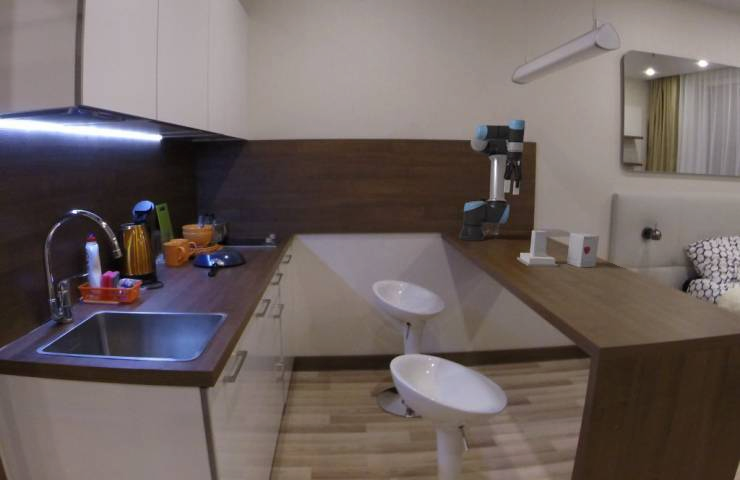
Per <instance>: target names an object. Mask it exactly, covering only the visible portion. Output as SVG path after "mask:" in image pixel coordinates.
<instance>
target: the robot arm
mask: <svg viewBox="0 0 740 480" xmlns="http://www.w3.org/2000/svg"><path fill="white" fill-rule="evenodd" d="M525 129H526V121H525V120H524V119H510V121H509V123H508V125H507V124H506V125H493V124H482V125H480V124H479V125H477V126H476V130H475V135H474V136H473V137H472V138H471V140H470V148H471V149H472V150H473V152H475V153H478V154H480V155H488V159H489V160H490V180H489V181H490V182H489V183H490V185H489V199H488V200H486V203H485V201H483V200H476V201H469V202H466V203H464V207H463V220H462V221H463V222H462V223H463V224H462V228H461V230H460V232H459V235H458V236H459V239H460V240H463V241H470V242H481V241H485V233H484V230H483V229H484V228H483V224H484V223H485V224H487V223H488V224H505V223H506V222H507V220H508V219H509V215H510V209H511V207H510V204H508V203H507V202H508V201H507V200H506V199H505V193H510V191H511V180H512V175H513V178H514V179H513V190H512V195H519V194H520V186H521V181H522V180H523V174H522V161H521V160H523V151H524V140H525V131H526V130H525ZM506 160H507V161H506Z"/></svg>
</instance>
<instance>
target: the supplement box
mask: <svg viewBox="0 0 740 480" xmlns="http://www.w3.org/2000/svg"><path fill="white" fill-rule="evenodd" d="M599 240H600V235H598V234H597V235H596V234H592V233H589V232H570V235H569V244H568V251H567V257H566V258H567V260H566V264H569V265H572V266H574V267H577V268H595V267H596V262H597V253H598V247H599Z"/></svg>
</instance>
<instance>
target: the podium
mask: <svg viewBox="0 0 740 480" xmlns="http://www.w3.org/2000/svg"><path fill="white" fill-rule="evenodd" d="M516 260H517V261H519V262H521V263H522V264H523V265H525V266H527V267H551V268H553V267H554V268H556V267H559V266H558V265H559V264H558V263H556V257H553V256H551V255H550V254H547V253H546V255H545V256H532V255H530V252H520V253H519V257H518V256H517V258H516Z"/></svg>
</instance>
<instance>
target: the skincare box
mask: <svg viewBox="0 0 740 480" xmlns="http://www.w3.org/2000/svg"><path fill="white" fill-rule="evenodd" d="M548 234H549V233H548V231H547V230H531V236H530V237H531V238H530V249H529V253H530V255H532V256H545V255H546V254H547V253H546V252H547V243H548Z"/></svg>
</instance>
